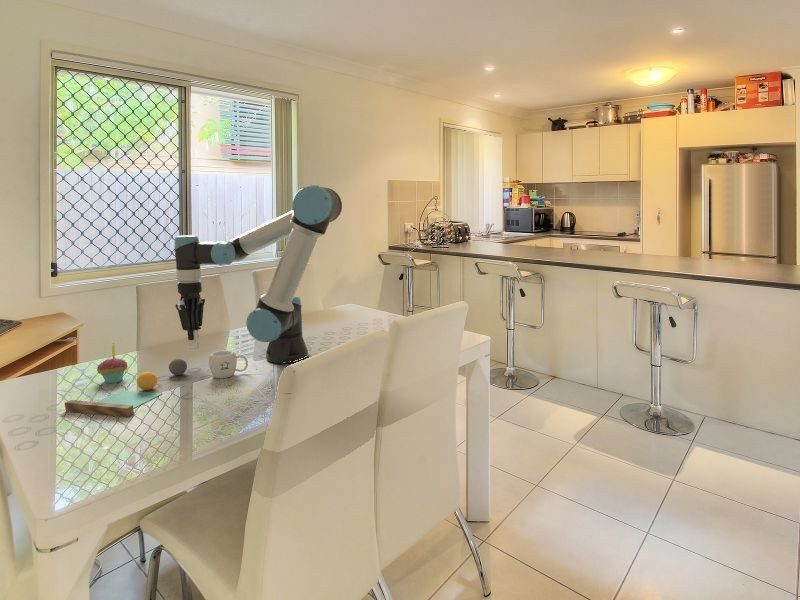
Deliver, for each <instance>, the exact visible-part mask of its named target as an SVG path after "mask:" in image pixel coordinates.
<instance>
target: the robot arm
mask: <svg viewBox="0 0 800 600" xmlns="http://www.w3.org/2000/svg"><path fill="white" fill-rule="evenodd" d="M291 203H292V204H291V208H292V210H290V211H287V213H284V214H282V215H280V216H278V217H276V218H273V219H272V220H270V221H267V222H265V223H263V224H261V225H259V226H257V227H255V228H253V229H250V230H248V231H246V232H245V233H243V234H240V235H238V236H236V237H235V238H232V239H229V240H223V241H199V237H198V236H197V235H177V236H175V237H174V248H173V249H174V257H175V265H176V267H175V268H176V281H177V293H178V294H179V295H180V299H179V301H180V302H179V303H176V304H175V309H176V310H177V313H178V318H179V321H180V325H181V329H182V331H185V332H187V340H188V349H190V350H198V349H199V347H200V345H199V344H200V343H199V330H201V329H202V328H201V327H202V326H203V318H204V306H205V302H206V299H205V298H202V297H201V295H200V293H202V291H203V289H202V288H203V287H202V282H201V280H202V272H201V265H214V266H226V265H227V266H228V265H229V266H230V265H231V264H232V263H233V262H240V261H242V260H244V259H246V258H248V256H250V255H252V254H254V253H256V252H259V251H260V250H263V249H265V248H267V247H269V246H272V245H273V244H275V243H278V242H279V241H283V240H285V239H287V241H286V243H285V247H284V249H283V250H282V254H281V256H280V259H279V261H278V264H277V266H276V269H275V272H274V274H273V276H272V279H271V282H270V284H269V287H268V290H267V292H266V293H264V294H261V295H260V297H259V300H258V302H257V304H256V306H255V308H254V309H253V310H251V312H250V313H248V315H247V317H246V323H245V325H246V329H247V331H248V334H249V335H250V336H251V337H252V338H253V339H255V340H256V341H258V342H259V343H268V345H267V348H266V352H265V360H266V359H267V360H268V361H267V360H266V361H267V362H269V361H270V362H269V363H272V362H274V363H273V364H284V363H283V362H290V361H291V362H293V361H295V360H298V361H299V359H301V358H303V359H304V360H306V359H307V358H306V357H305V356H307V355H308V356H309V350H308V347H307V345H306V341H305V339H304V337H303V321H302V320H303V319H302V318H303V317H302V316H303V315H302V302H301V298H300V297H298V296H295V295H296V293H297V290H298V287H299V285H300V283H301V281H302V278H303V276H304V273H305V271H306V268H307V266H308V263H309V261H310V258H311V256H312V253H313V252H314V248H315V246H316V244H317V242H318V238H320V237H322V236H324V235H325V234H326V232H327V229H328V228H329V224H330V223H332V222H334V221H336V220H337V219H338V218H339V216H340V215H341V213H342V210H343V202H342V198H341V197H340V195H339V193H337V192H336V191H335V190H334V189H331V188H328V187H325V186H319V185H314V184H313V185H308V186H305V187H302V188H300V189H299V190H298V191H297V192H296V193H295V194H294V197H293V199H292V202H291ZM304 357H305V358H306V359H305V358H304ZM303 359H301V360H302V361H304V360H303ZM299 362H300V361H299ZM295 363H297V361H296V362H295Z"/></svg>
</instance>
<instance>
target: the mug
mask: <svg viewBox="0 0 800 600" xmlns="http://www.w3.org/2000/svg"><path fill="white" fill-rule="evenodd" d="M239 358H242V359H244V362H245V366H244V367H243V368H242V369H238V368H237V363H238V362H237V359H239ZM208 365H209V370H210V373H211V375H212V376H213V378H215V379H228V378H231V377H232V376H234V375H235V372H244V371H246V370H247V369H248V366H249V362H248V359H247V357H246V356H244V355H242V354H239V355H236V352H235V351H233V350H229V349H228V350H225V349H224V350H216V351H213V352H211V353H210V354H209V357H208Z"/></svg>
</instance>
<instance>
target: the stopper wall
mask: <svg viewBox="0 0 800 600" xmlns="http://www.w3.org/2000/svg"><path fill="white" fill-rule="evenodd" d="M64 408H65V409H64V410H65V412H67V411H70V412H69V413H77V414H78V413H79V414H88V415H89V414H90V415H100V416H110V417H120V418H130V417H132V416H134V415H135V411H134V409H133V405H122V404H111V403H100V402H97V401H86V400H74V399H70V400H67V401H65V402H64Z"/></svg>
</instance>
